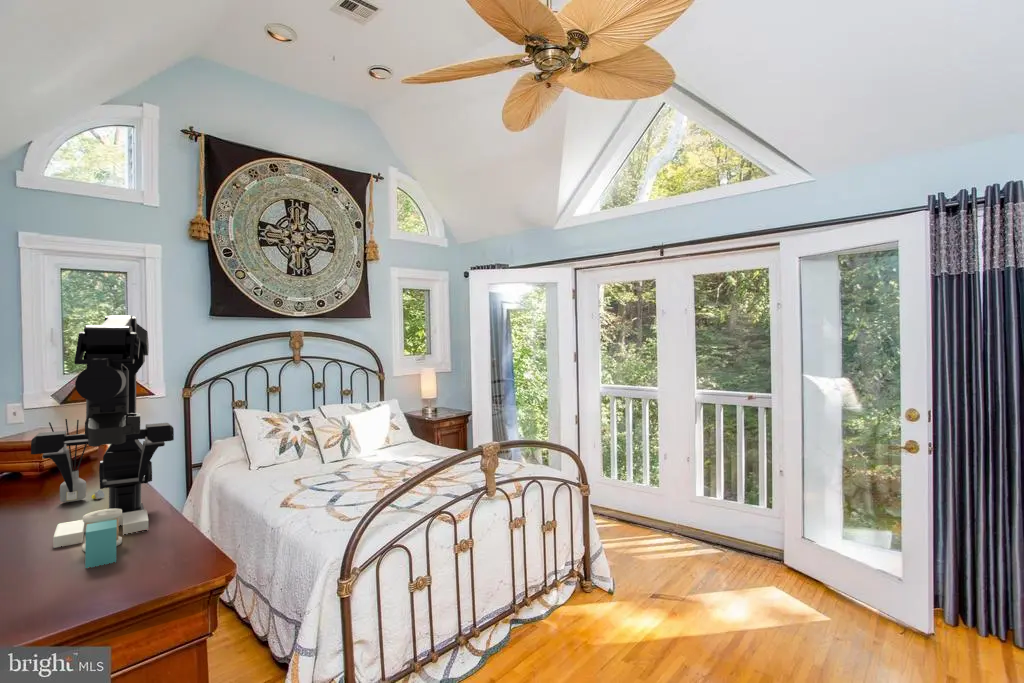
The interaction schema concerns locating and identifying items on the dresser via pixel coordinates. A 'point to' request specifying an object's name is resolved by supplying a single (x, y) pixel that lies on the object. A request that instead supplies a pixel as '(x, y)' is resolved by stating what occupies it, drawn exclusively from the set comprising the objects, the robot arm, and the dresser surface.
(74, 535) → the notched board
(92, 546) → the teal rectangular block
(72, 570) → the dresser surface
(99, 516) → the bobbin
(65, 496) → the reed diffuser
